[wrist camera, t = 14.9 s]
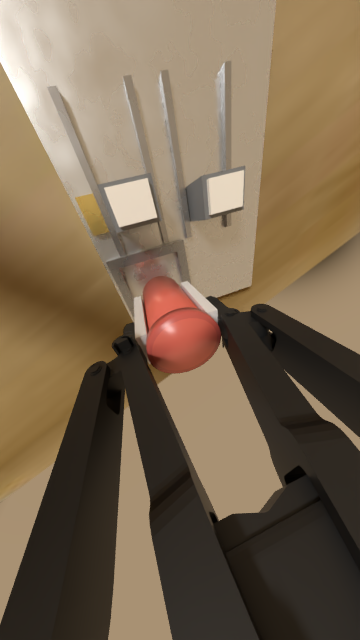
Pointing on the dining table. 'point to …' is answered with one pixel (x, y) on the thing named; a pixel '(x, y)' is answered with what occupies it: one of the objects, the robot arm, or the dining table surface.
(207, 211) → the block
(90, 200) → the panel
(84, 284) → the dining table surface
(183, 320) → the cap
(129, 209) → the block
